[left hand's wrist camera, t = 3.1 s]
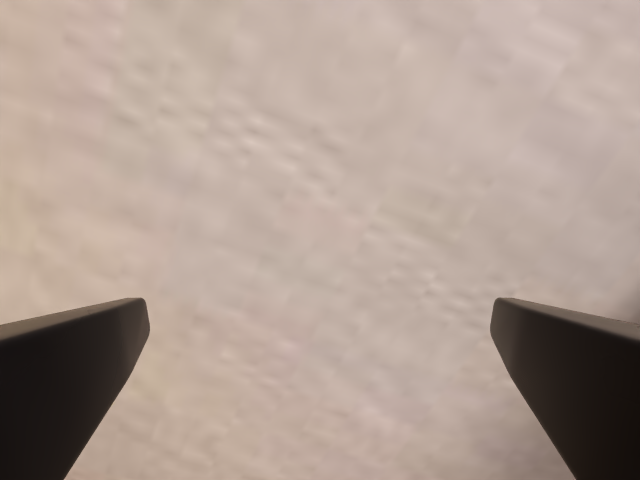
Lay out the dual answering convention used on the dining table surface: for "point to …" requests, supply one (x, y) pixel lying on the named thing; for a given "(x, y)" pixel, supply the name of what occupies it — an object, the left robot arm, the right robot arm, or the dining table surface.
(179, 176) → the dining table surface
